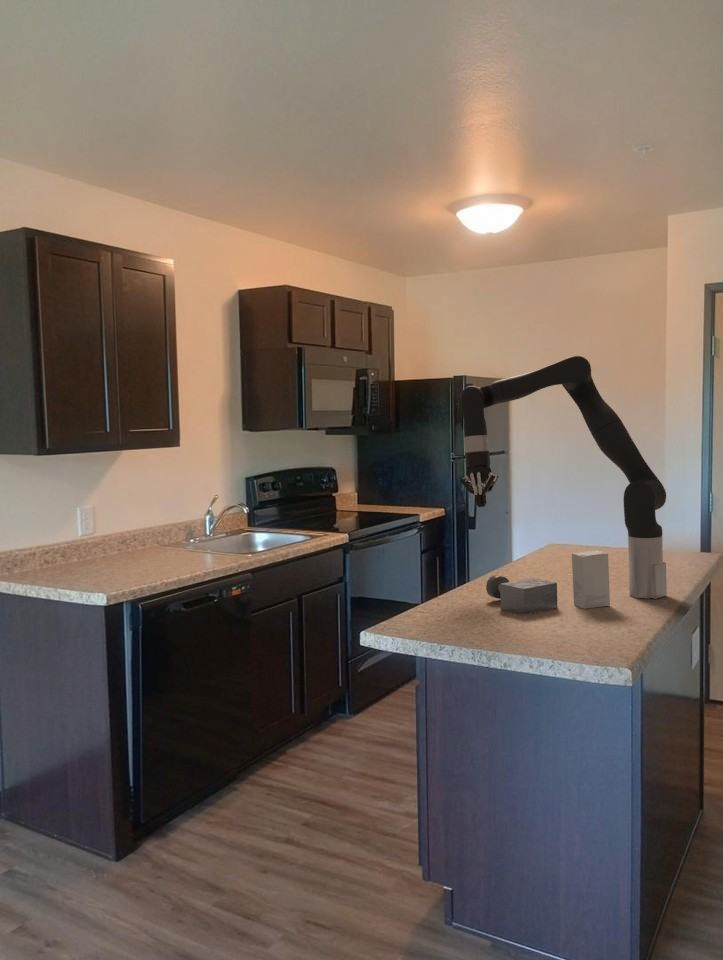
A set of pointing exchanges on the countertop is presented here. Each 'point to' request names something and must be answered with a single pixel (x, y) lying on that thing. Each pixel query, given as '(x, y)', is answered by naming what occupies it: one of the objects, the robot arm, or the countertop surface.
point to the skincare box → (590, 579)
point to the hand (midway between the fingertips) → (481, 506)
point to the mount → (528, 595)
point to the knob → (495, 585)
